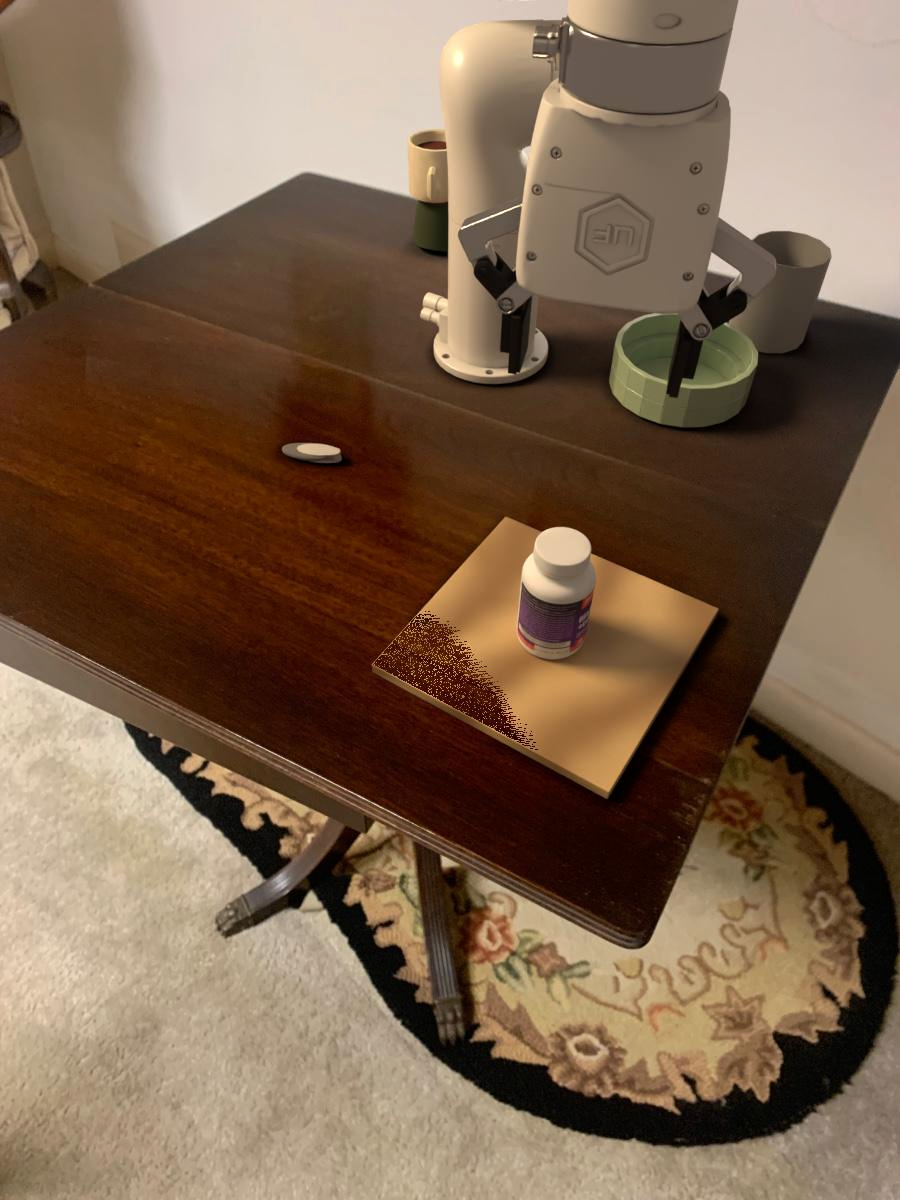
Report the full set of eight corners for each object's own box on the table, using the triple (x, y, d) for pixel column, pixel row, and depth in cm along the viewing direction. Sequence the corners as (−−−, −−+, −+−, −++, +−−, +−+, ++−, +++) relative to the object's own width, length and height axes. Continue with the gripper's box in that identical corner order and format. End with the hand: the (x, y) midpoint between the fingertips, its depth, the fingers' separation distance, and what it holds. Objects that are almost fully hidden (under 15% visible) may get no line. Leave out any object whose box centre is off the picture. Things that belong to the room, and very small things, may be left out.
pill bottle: (587, 662, 67) (605, 573, 60) (517, 661, 67) (526, 572, 60) (581, 609, 71) (597, 519, 64) (514, 608, 71) (523, 518, 64)
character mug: (459, 267, 111) (461, 159, 101) (403, 263, 112) (400, 155, 102) (469, 228, 118) (471, 124, 109) (416, 224, 119) (414, 120, 109)
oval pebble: (278, 460, 86) (276, 451, 85) (289, 445, 87) (286, 436, 86) (336, 469, 84) (334, 459, 83) (345, 453, 85) (344, 444, 85)
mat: (372, 672, 68) (371, 664, 67) (505, 524, 79) (505, 515, 78) (607, 799, 61) (609, 792, 60) (716, 616, 72) (719, 608, 71)
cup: (804, 357, 98) (834, 271, 90) (728, 348, 99) (751, 263, 91) (800, 318, 103) (827, 234, 96) (728, 310, 104) (750, 227, 97)
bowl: (585, 400, 92) (592, 358, 88) (643, 339, 100) (651, 298, 96) (715, 447, 87) (727, 405, 83) (764, 378, 95) (777, 337, 91)
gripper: (444, 74, 40) (443, 387, 53) (836, 112, 38) (735, 431, 51) (479, 23, 45) (470, 322, 58) (829, 53, 43) (738, 359, 56)
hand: (594, 373), depth 54 cm, fingers open, 9 cm apart
